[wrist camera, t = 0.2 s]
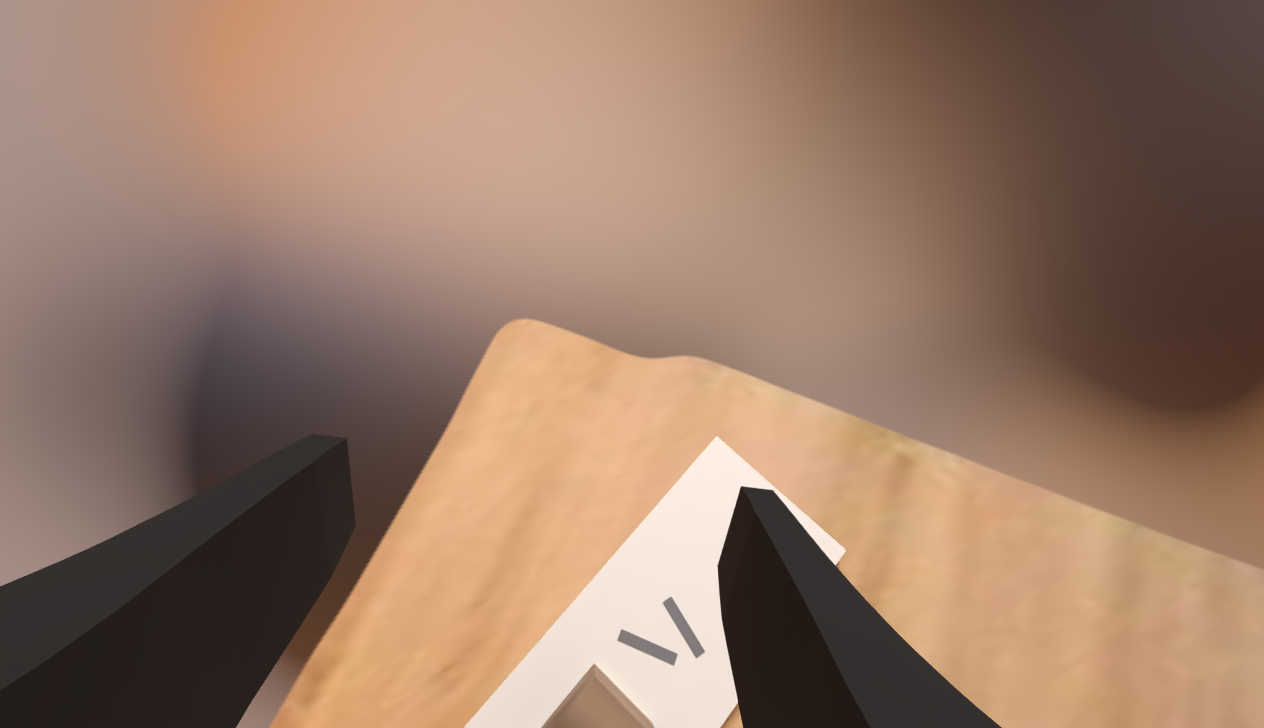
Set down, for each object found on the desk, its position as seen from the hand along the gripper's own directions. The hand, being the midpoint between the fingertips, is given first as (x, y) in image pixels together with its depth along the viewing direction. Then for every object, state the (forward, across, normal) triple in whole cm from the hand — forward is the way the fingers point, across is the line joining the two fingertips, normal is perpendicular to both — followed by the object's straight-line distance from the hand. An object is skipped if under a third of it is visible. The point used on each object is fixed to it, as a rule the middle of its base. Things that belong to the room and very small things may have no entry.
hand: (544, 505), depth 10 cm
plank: (+17, -7, +26) cm, 32 cm away
